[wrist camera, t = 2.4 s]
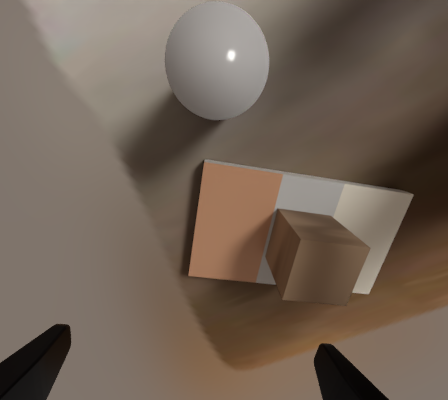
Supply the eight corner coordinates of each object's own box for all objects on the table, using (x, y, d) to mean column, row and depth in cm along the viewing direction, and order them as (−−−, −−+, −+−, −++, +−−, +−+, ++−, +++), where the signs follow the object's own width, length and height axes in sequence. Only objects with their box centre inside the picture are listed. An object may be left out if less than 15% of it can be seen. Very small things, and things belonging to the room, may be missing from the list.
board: (401, 190, 20) (413, 194, 19) (360, 285, 23) (368, 294, 22) (204, 159, 18) (204, 162, 17) (189, 267, 21) (188, 275, 20)
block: (330, 215, 19) (370, 248, 14) (314, 262, 20) (346, 305, 16) (277, 208, 18) (300, 239, 14) (265, 256, 20) (282, 299, 15)
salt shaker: (247, 63, 16) (280, 14, 8) (236, 123, 17) (257, 127, 10) (189, 51, 16) (169, -11, 8) (182, 114, 17) (160, 110, 9)
